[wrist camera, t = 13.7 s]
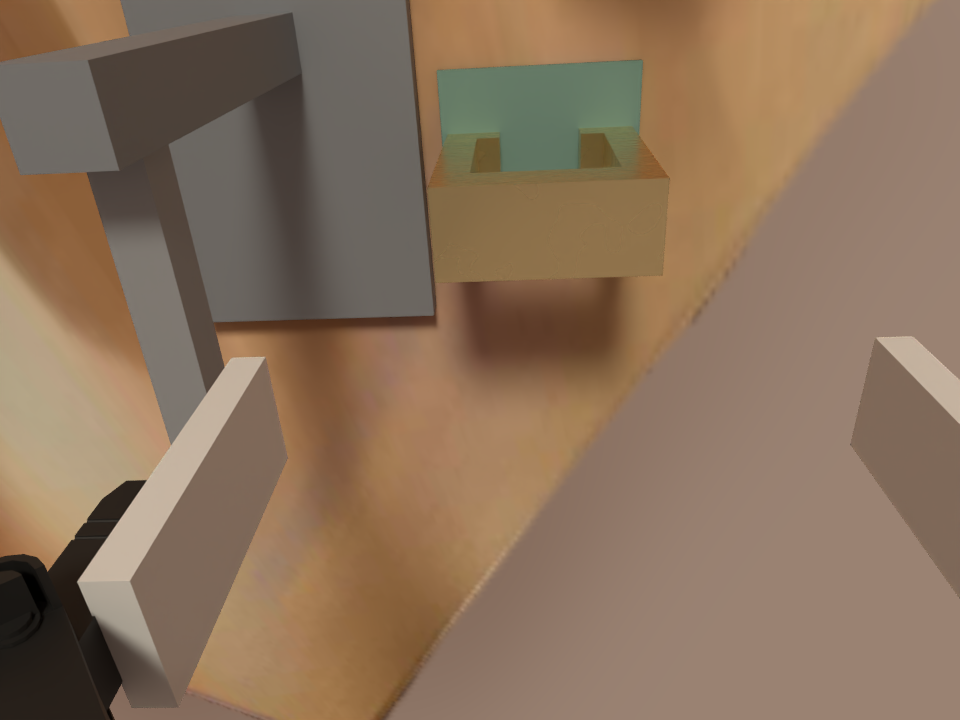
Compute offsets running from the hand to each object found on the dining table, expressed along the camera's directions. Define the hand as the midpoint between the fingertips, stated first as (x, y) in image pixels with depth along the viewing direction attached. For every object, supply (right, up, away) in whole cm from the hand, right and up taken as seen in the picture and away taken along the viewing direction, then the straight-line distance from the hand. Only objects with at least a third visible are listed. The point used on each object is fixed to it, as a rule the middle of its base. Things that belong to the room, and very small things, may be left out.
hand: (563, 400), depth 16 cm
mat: (+1, +10, +18) cm, 21 cm away
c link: (+1, +10, +18) cm, 21 cm away
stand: (-11, +11, +19) cm, 24 cm away
